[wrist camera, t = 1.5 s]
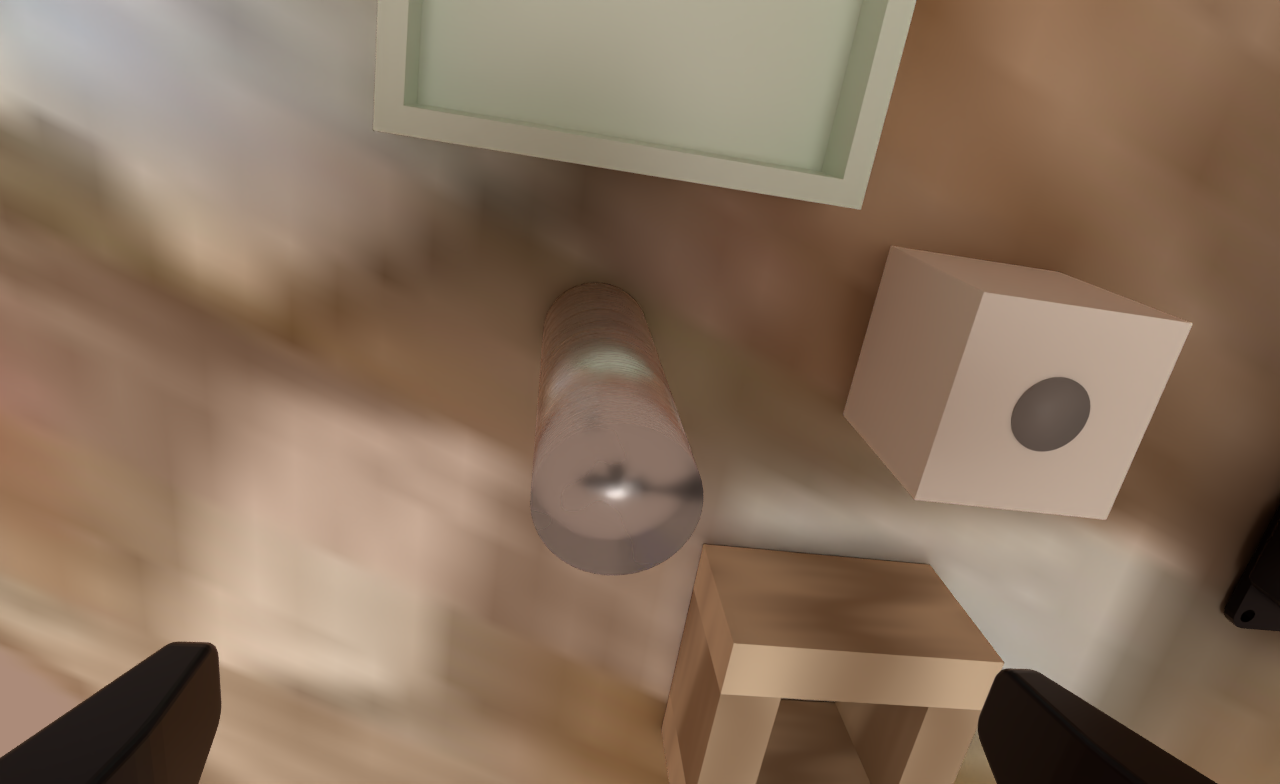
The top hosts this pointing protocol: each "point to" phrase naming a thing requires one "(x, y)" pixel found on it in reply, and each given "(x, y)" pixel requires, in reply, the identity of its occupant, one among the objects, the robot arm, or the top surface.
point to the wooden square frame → (823, 673)
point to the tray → (652, 85)
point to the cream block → (1008, 383)
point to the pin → (609, 440)
